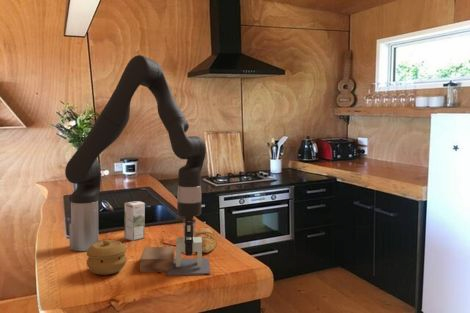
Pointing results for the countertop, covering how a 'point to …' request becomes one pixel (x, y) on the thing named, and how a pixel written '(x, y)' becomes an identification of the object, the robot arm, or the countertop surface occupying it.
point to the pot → (106, 257)
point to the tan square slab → (157, 259)
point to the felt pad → (190, 267)
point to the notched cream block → (195, 248)
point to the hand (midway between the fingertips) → (189, 251)
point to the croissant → (206, 239)
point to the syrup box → (134, 220)
